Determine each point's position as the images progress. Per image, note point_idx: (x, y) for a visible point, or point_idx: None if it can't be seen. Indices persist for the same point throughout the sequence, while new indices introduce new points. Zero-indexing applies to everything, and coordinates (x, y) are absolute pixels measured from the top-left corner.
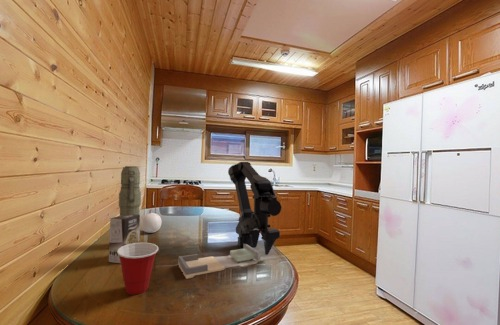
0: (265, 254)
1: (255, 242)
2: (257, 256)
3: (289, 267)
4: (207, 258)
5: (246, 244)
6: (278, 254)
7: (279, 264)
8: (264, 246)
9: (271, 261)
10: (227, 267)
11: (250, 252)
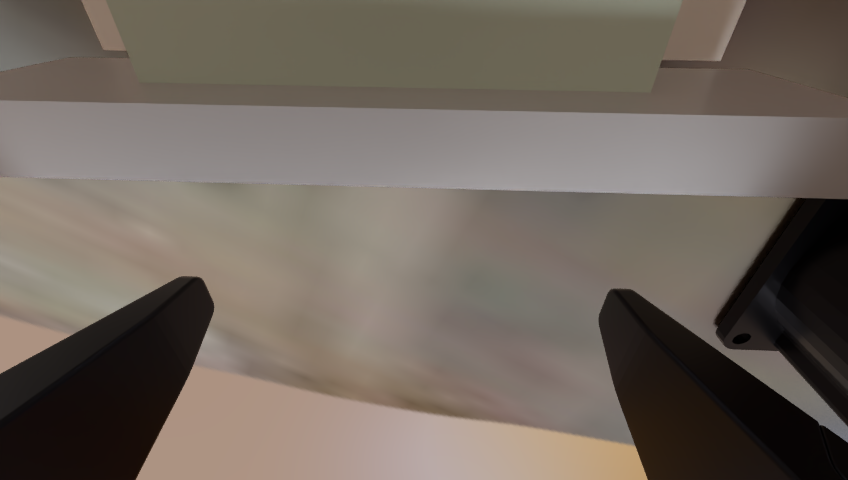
0: (187, 276)
1: (644, 392)
2: (10, 74)
3: (53, 325)
4: None
5: (766, 175)
6: (404, 400)
7: (135, 294)
8: (27, 393)
9: (236, 272)
10: None
11: (258, 19)
